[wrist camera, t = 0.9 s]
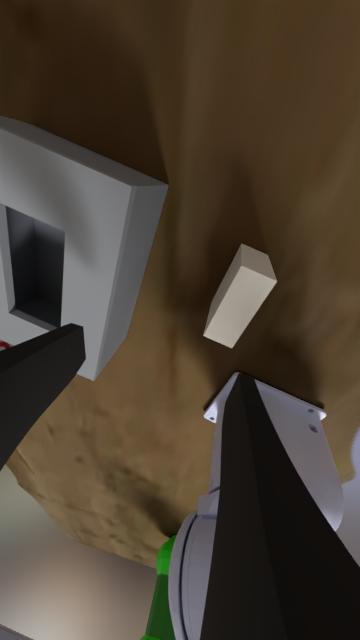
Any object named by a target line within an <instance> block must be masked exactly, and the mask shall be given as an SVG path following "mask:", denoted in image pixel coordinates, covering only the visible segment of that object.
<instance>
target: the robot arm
mask: <svg viewBox="0 0 360 640" xmlns="http://www.w3.org/2000/svg"><path fill="white" fill-rule="evenodd" d="M85 360H86V353H85V341H84V329H83V326H80V325H77V324H73V323H70V324H67V325H64V326H61V327H59V328H56V329H54V330H52V331H49V332H47V333H44V334H42V335H39V336H37V337H35V338H32V339H30V340H27V341H25V342H22V343H20V344H17V345H14V346H12V347H9V348H6V349H4V350H1V351H0V471H1V469H2V468H3V466H4V465H5V463H6V462H7V460H8V459H9V457H10V456H11V455H12V453H13V452H14V450H15V449H16V447H17V446H18V445H19V443H20V442H21V441H22V439H23V438H24V436H25V435H26V434H27V432H28V431H29V429H30V428H31V427H32V426H33V424H34V423H35V422H36V421H37V420H38V418H39V417H40V416H41V415H42V414H43V413H44V411H45V410H46V409H47V408H48V407H49V406H50V405H51V403H52V402H53V401H54V400H55V399H56V398H57V397H58V395H59V394H60V393H61V392H62V391H63V390H64V388H65V387H66V386H67V385H68V384H69V383H70V381H71V380H72V379H73V378H74V376H75V375H76V374H77V372H78V371H79V369H80V368H81V366H82V365H83V363H84V361H85ZM204 417H205V418H206V419H208V420H210V421H212V422H214V423H216V427H215V436H214V445H213V454H212V463H211V472H210V481H209V491H208V495H200V496H199V502H198V509H197V510H196V511H192V512H191V513H189V514H188V515H187V516H186V518H185V520H184V521H183V523H182V525H181V527H180V529H179V531H178V533H177V536H176V539H175V542H174V545H173V549H172V554H171V559H170V567H169V579H168V595H169V607H170V613H171V618H172V624H173V629H174V633H175V638H176V640H360V567H359V566H358V564H357V563H356V562H355V561H354V559H353V558H352V556H351V555H350V553H349V552H348V550H347V549H346V547H345V546H344V544H343V543H342V541H341V540H340V538H339V536H338V535H337V534H336V532H335V531H336V530H337V528H338V527H339V525H340V523H341V520H342V515H343V505H344V500H343V490H342V485H341V481H340V478H339V475H338V472H337V469H336V466H335V463H334V460H333V457H332V454H331V451H330V448H329V445H328V442H327V439H326V435H325V432H324V429H323V426H322V423H321V421H320V420H322V419H323V418H325V417H326V412H325V411H324V410H323V409H321V408H318V407H316V406H314V405H312V404H309V403H307V402H305V401H303V400H300V399H298V398H296V397H294V396H291V395H289V394H287V393H285V392H282V391H280V390H278V389H276V388H273V387H271V386H269V385H267V384H264V383H262V382H260V381H258V380H255V379H254V378H253V377H251V376H248V375H245V374H242V373H239V372H236V373H234V374H233V375H232V376H231V378H230V379H229V380H228V382H227V383H226V384H225V386H224V387H223V388H222V390H221V391H220V392H219V394H218V395H217V396H216V398H215V399H214V400H213V402H212V403H211V404H210V406H209V407H208V408H207V410H206V411H205V412H204ZM0 640H33V639H31V638H29V637H27V636H24V635H22V634H20V633H18V632H16V631H14V630H12V629H9V628H7V627H5V626H3V625H1V624H0Z"/></svg>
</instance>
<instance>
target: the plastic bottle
mask: <svg viewBox="0 0 360 640" xmlns="http://www.w3.org/2000/svg"><path fill="white" fill-rule="evenodd" d="M176 536H177V535H174V536H172V538H171V539H169V540H168V541H167V542H165V543H164V544H163V545H162V547H161V548H160V550H159V552H158V556H157V560H156V561H157V575H158V577H157V582H156V586H155V591H154V596H153V600H152V605H151V610H150V614H149V619H148V623H147V628H146V633H145V635H144V636H143V638H142V639H141V640H176V638H175V633H174V629H173V624H172V618H171V613H170V607H169V595H168V579H169V567H170V559H171V554H172V549H173V545H174V542H175V539H176Z"/></svg>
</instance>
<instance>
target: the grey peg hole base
mask: <svg viewBox="0 0 360 640" xmlns="http://www.w3.org/2000/svg"><path fill="white" fill-rule="evenodd" d="M168 187H169V185H168V184H166V183H164V182H161V181H159V180H157V179H155V178H152V177H150V176H148V175H146V174H143V173H141V172H139V171H136V170H134V169H132V168H130V167H127V166H125V165H123V164H121V163H118V162H116V161H114V160H112V159H109V158H107V157H105V156H102V155H100V154H98V153H96V152H93V151H91V150H89V149H87V148H84V147H82V146H80V145H78V144H75V143H73V142H71V141H68V140H66V139H64V138H62V137H59V136H57V135H55V134H53V133H50V132H48V131H46V130H44V129H41V128H39V127H37V126H34V125H32V124H30V123H26V122H22V121H19V120H15V119H11V118H8V117H4V116H0V340H2V341H5V342H7V343H9V344H11V345H17V344H20V343H22V342H25V341H27V340H30V339H32V338H35V337H37V336H39V335H42V334H44V333H47V332H49V331H52V330H54V329H56V328H59V327H61V326H64V325H67V324H70V323H73V324H77V325H80V326H83V329H84V341H85V353H86V360H85V361H84V363H83V365H82V366H81V368H80V369H79V371H78V372H77V374H79V375H81V376H83V377H86V378H88V379H90V380H92V381H94V380H95V379H96V378H97V376H98V375H99V373H100V372H101V371H102V369H103V368H104V367H105V365H106V364H107V363H108V361H109V360H110V359H111V357H112V356H113V355H114V353H115V352H116V351H117V349H118V348H119V347H120V345H121V344H122V343H123V341H124V340H125V339H126V337H127V334H128V330H129V326H130V323H131V319H132V316H133V312H134V308H135V305H136V301H137V298H138V294H139V291H140V287H141V283H142V280H143V276H144V273H145V269H146V266H147V262H148V258H149V255H150V251H151V248H152V244H153V240H154V237H155V233H156V230H157V226H158V223H159V219H160V215H161V212H162V208H163V205H164V201H165V198H166V194H167V190H168Z"/></svg>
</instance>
